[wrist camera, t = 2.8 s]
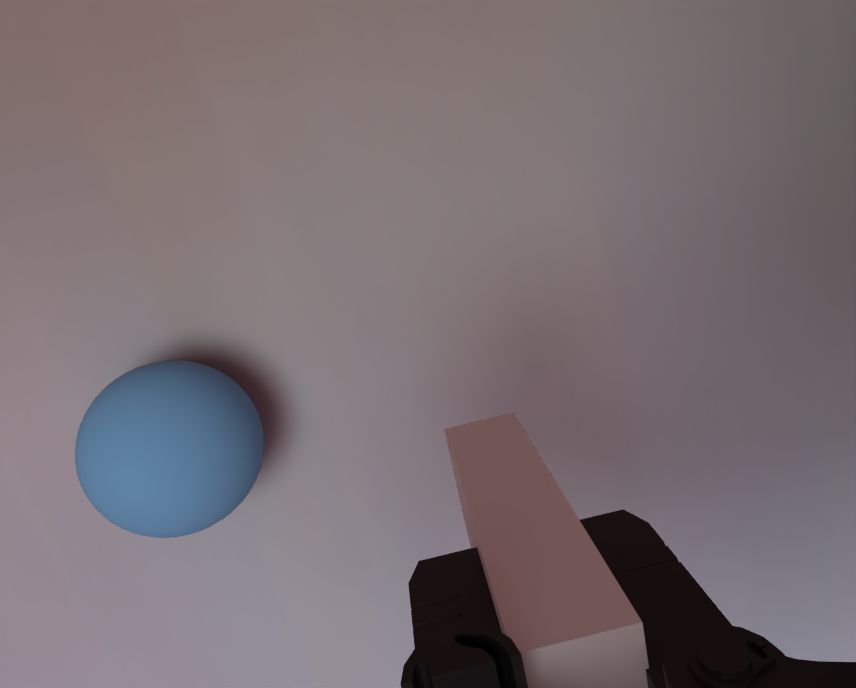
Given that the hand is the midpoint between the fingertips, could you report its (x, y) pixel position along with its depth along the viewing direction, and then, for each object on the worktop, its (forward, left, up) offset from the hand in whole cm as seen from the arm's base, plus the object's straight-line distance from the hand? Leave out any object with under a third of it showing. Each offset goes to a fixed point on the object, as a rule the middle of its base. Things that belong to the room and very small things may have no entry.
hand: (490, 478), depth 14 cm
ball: (+9, 0, -7) cm, 11 cm away
